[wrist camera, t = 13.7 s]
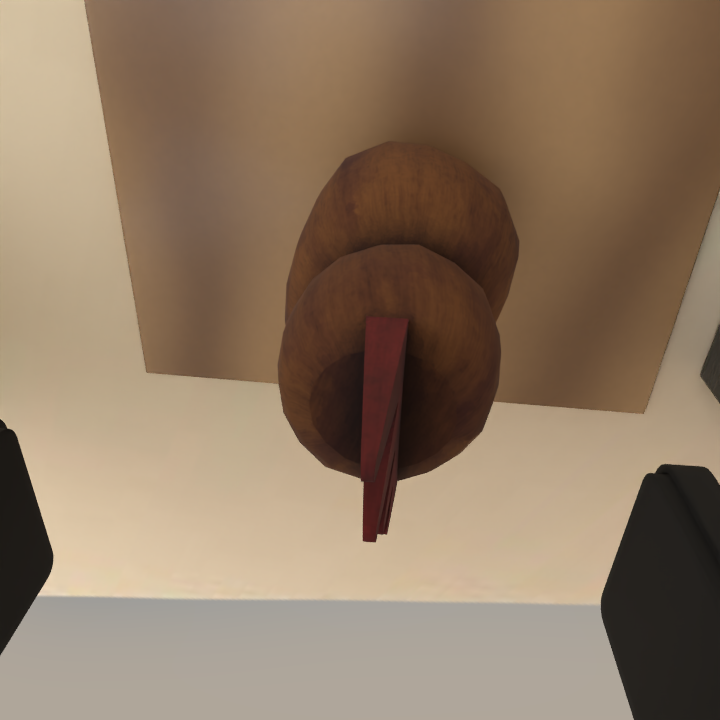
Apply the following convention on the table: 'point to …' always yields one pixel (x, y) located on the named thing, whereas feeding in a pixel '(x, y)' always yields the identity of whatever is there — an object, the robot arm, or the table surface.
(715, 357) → the box
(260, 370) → the brown wooden board
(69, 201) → the table surface
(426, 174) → the wooden figurine
